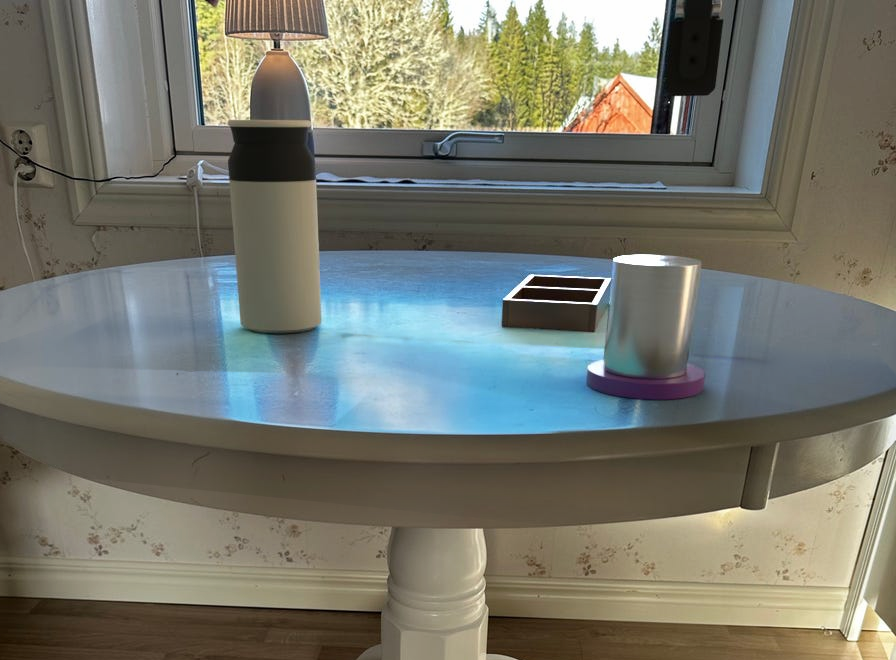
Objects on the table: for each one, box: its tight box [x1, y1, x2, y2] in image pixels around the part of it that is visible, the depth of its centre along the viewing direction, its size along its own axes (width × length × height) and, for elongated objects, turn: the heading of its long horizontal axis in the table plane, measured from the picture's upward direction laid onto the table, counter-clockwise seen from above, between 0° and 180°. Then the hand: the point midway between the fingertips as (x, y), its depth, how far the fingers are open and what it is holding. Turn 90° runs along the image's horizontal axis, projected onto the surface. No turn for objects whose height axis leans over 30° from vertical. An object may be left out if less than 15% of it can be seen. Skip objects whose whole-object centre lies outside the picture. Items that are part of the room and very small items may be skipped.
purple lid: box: [586, 359, 706, 401], centre depth 75 cm, size 9×9×1 cm
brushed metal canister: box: [602, 254, 703, 379], centre depth 72 cm, size 6×6×8 cm
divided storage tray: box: [501, 274, 612, 333], centre depth 99 cm, size 9×17×3 cm, turn 165°
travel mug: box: [227, 119, 323, 334], centre depth 90 cm, size 8×8×18 cm
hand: (689, 94), depth 66 cm, fingers open, 9 cm apart
